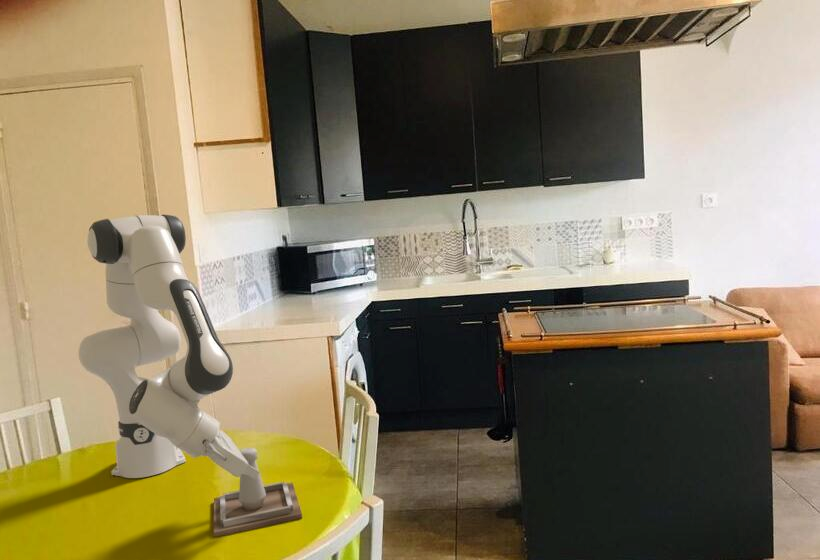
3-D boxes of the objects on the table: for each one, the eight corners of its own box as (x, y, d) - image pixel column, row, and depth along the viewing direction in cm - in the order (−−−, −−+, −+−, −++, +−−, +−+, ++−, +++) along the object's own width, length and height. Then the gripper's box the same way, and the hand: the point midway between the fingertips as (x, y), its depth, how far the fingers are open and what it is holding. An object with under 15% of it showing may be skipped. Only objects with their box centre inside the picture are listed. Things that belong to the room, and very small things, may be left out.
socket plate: (214, 502, 155) (213, 493, 155) (292, 486, 160) (291, 477, 160) (214, 537, 138) (213, 526, 138) (302, 518, 143) (301, 508, 142)
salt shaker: (260, 512, 145) (253, 454, 144) (235, 512, 146) (228, 454, 145) (271, 500, 151) (264, 444, 149) (247, 500, 152) (240, 445, 150)
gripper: (218, 435, 134) (272, 470, 139) (202, 411, 152) (250, 443, 158) (198, 463, 132) (253, 496, 138) (184, 435, 151) (233, 466, 156)
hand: (251, 468), depth 148 cm, fingers open, 8 cm apart
